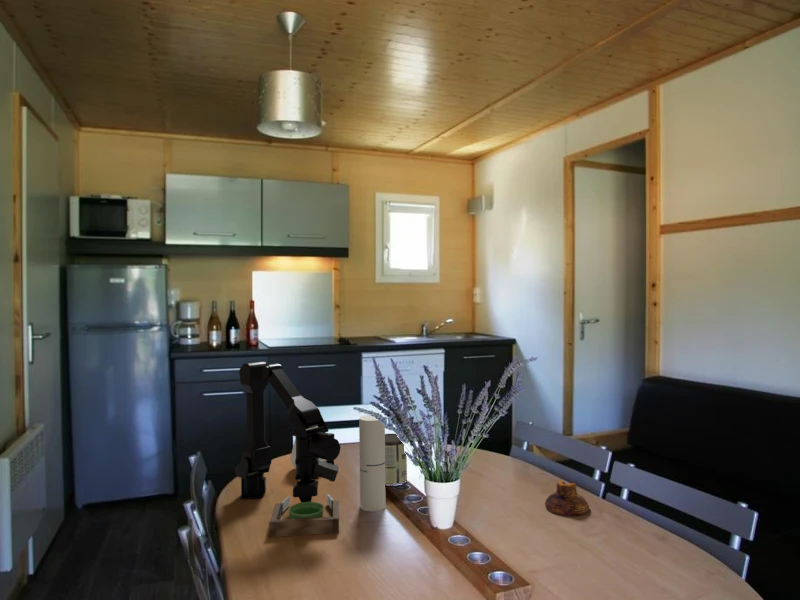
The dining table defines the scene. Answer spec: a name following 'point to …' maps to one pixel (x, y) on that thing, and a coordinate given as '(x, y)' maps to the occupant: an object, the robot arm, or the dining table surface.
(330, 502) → the bar
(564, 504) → the brown rounded necked piece
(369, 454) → the cylindrical container
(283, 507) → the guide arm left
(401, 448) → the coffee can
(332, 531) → the walnut dock
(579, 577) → the dining table surface
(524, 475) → the dining table surface
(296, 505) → the ramekin
